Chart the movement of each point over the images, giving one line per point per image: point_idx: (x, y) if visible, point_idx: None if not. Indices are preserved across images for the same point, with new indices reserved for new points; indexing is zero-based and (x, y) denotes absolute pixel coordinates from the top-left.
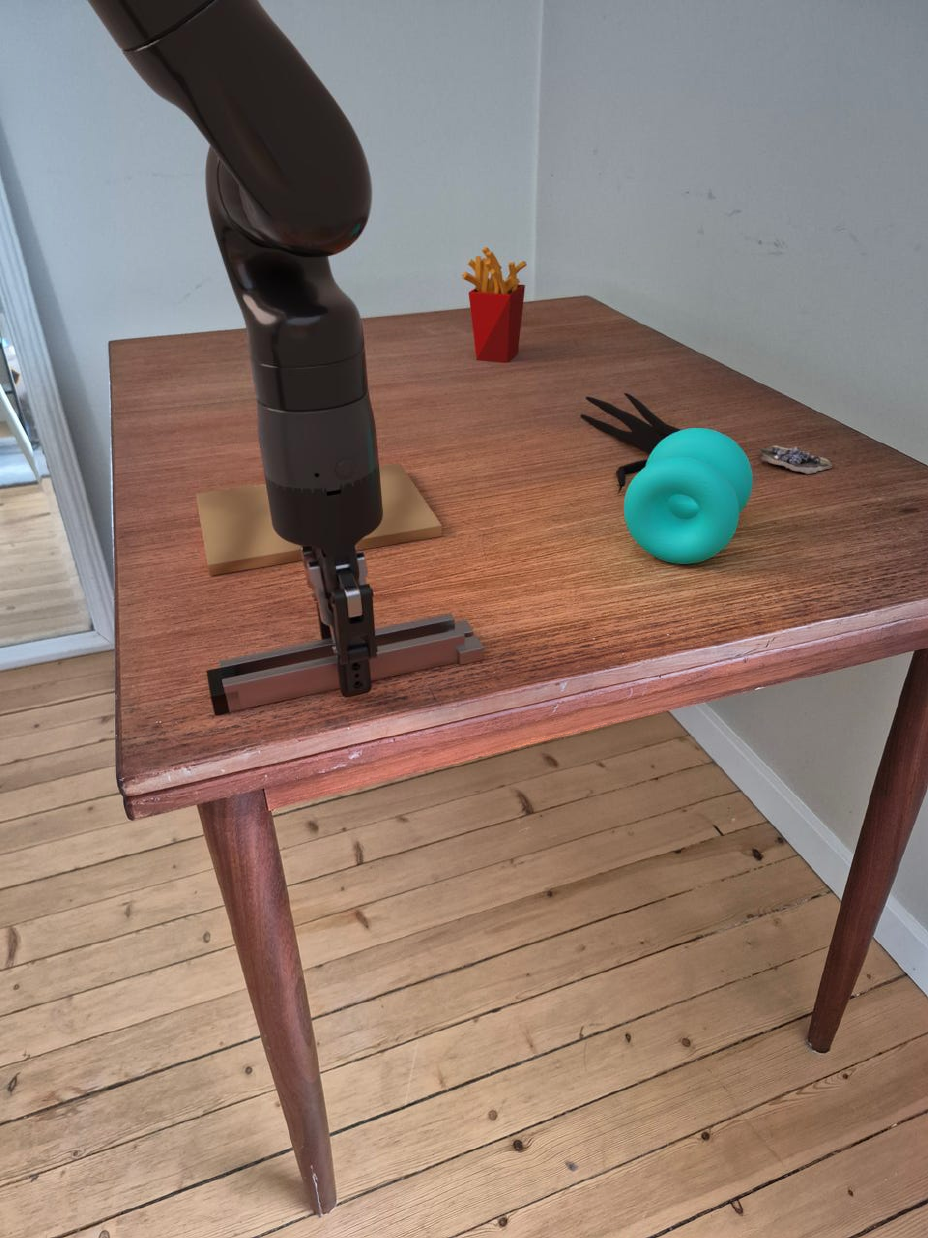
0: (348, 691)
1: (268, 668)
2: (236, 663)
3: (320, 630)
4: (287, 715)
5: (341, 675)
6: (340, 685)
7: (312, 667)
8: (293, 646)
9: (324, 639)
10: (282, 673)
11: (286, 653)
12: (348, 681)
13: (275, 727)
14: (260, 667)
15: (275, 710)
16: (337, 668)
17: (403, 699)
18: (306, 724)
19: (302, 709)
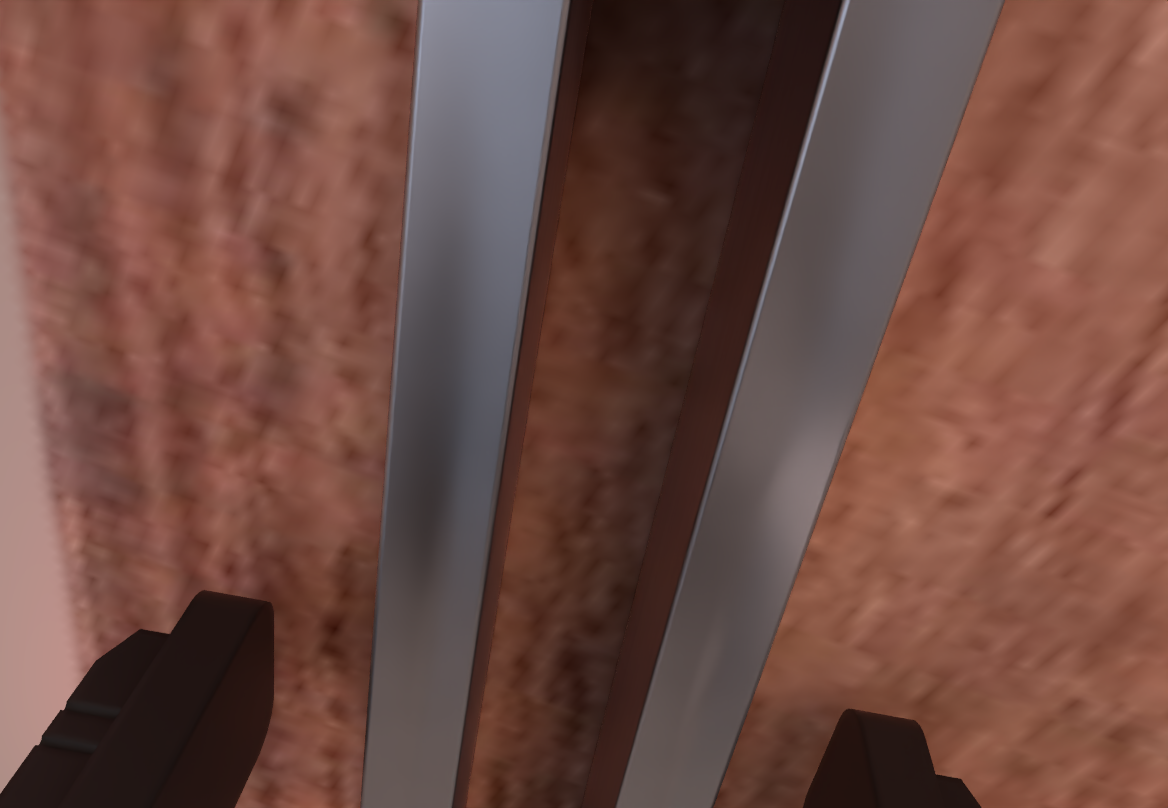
0: (115, 652)
1: (732, 290)
2: (852, 9)
3: (915, 793)
4: (272, 198)
5: (115, 729)
6: (190, 643)
7: (379, 605)
8: (766, 600)
9: (710, 795)
10: (391, 383)
11: (699, 518)
12: (50, 730)
13: (155, 64)
14: (760, 233)
15: (370, 139)
16: (179, 750)
17: None
18: (123, 278)
19: (302, 315)
